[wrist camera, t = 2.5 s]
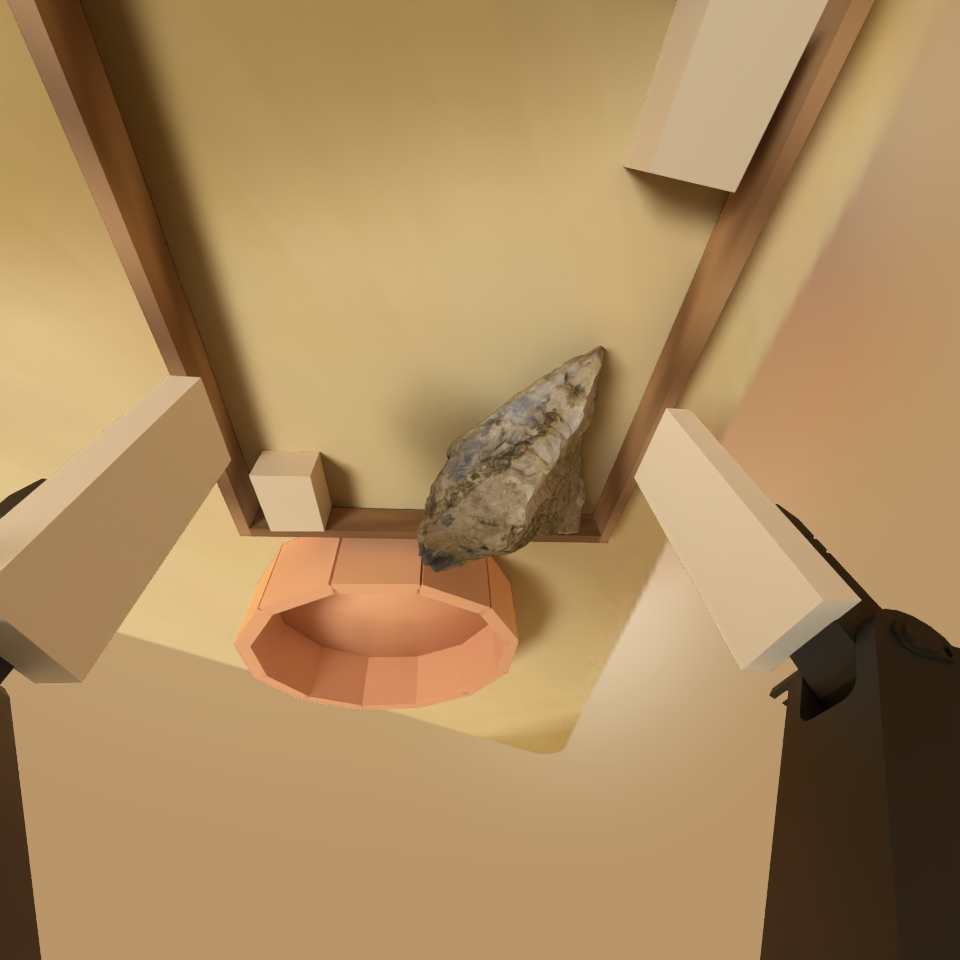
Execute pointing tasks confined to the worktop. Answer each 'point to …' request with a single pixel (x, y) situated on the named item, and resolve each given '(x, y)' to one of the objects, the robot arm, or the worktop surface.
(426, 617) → the bowl
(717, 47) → the beige rectangular block
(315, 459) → the cream cuboid block
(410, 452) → the worktop surface
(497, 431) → the rock
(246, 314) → the worktop surface
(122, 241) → the tray
